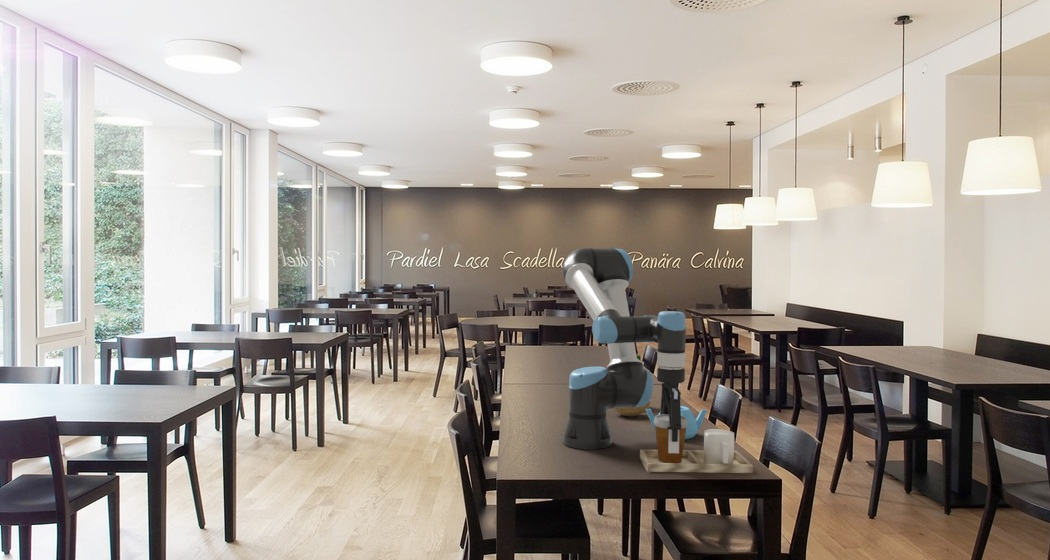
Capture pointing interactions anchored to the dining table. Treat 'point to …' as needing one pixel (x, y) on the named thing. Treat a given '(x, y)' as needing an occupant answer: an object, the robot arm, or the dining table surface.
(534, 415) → the dining table surface
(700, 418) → the teapot
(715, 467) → the cup carrier
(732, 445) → the white mug
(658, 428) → the disposable coffee cup
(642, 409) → the potato
